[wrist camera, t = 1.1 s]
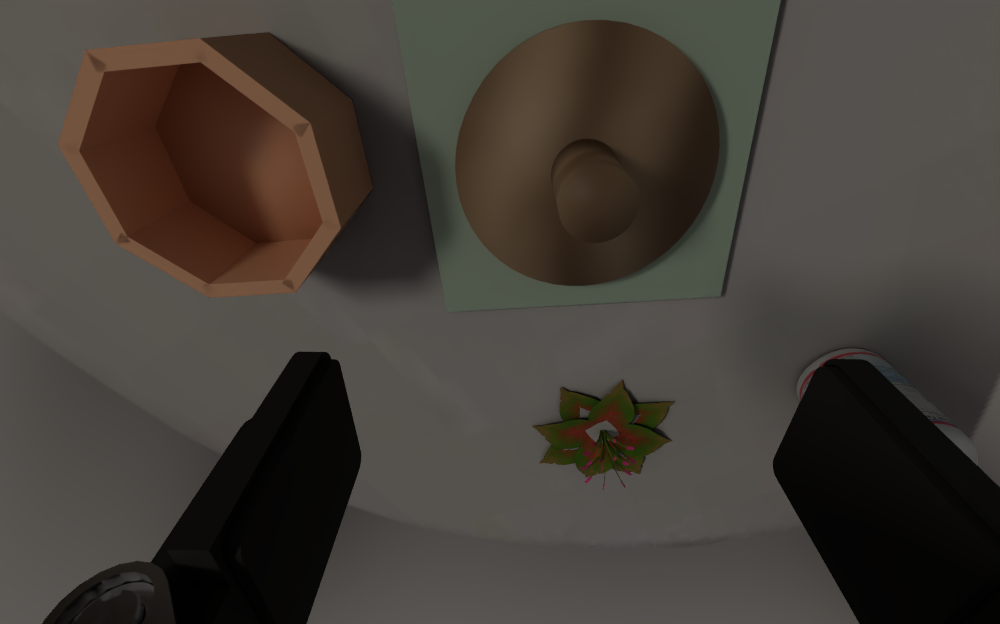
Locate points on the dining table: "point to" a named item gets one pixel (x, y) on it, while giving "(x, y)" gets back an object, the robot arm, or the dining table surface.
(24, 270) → the dining table surface
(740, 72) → the mat
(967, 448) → the pill bottle
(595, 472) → the lily flower
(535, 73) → the lid
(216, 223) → the bowl
